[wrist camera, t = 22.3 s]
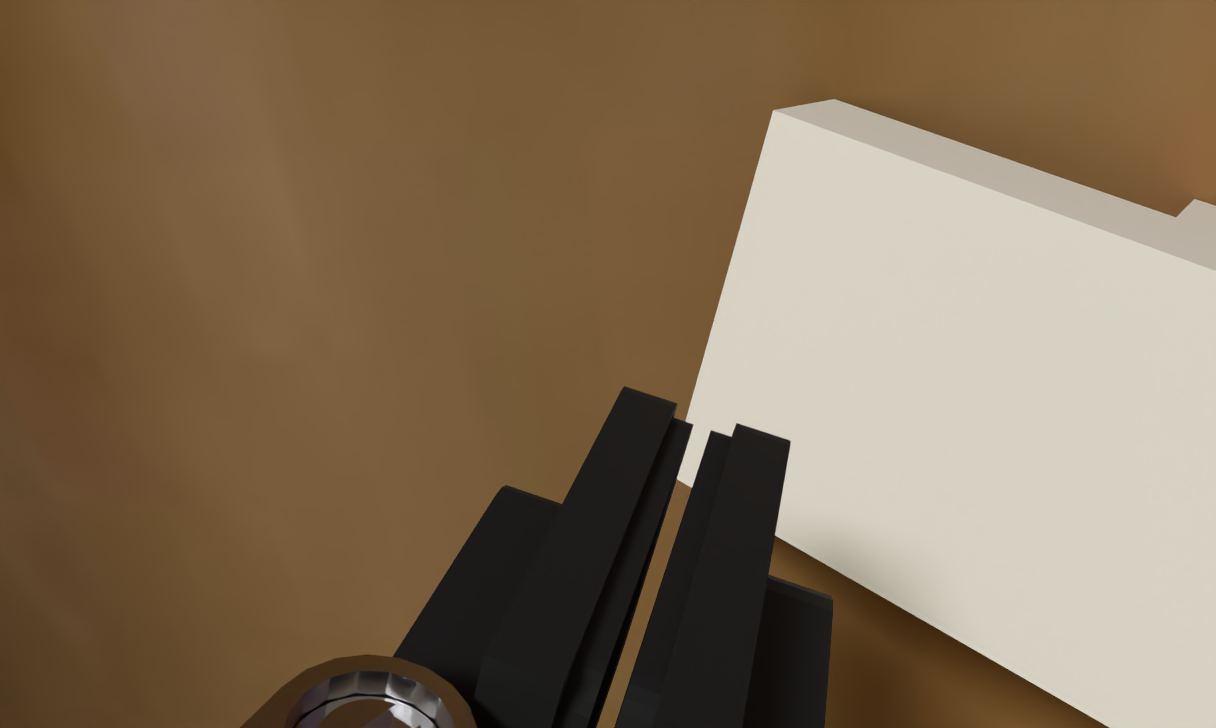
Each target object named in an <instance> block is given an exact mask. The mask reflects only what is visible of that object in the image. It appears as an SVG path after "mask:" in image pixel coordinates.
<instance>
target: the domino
mask: <svg viewBox="0 0 1216 728" xmlns="http://www.w3.org/2000/svg"><path fill="white" fill-rule="evenodd" d="M685 422H688V423H691V424H694V425H693V428H692V432H691V435H690V438H689V441H688V445H687V448H686V451H685V454H684V457H683V461H682V464H681V467H680V470H679V473H678V476H677V479H678V480H679V481H681V482H683V483H685V484H686V485H688V486H690V487H693V484H694V481H695V477H696V474H697V471H698V468H699V465H700V462H701V459H702V456H703V453H704V450H705V447H706V444H707V440H708V437H709V434H710V431H711V430H712V431H715V432H718V433H722V434H725V435H728V436H731V437H732V434H733V431H734V428H735V426H736V423H738V424H741V425H744V426H748V427H751V428H754V429H757V430H760V431H763V432H766V433H769V434H772V435H775V436H778V437H781V438H784V439H787V440H790V441H791V444H790V451H789V456H788V462H787V468H786V474H785V480H784V485H783V491H782V497H781V503H780V509H779V515H778V520H777V526H776V532H775V536H777V537H779V538H780V539H782V540H784V541H786V542H787V543H789V544H791V545H793V546H794V547H796V548H798V549H800V550H801V551H803V552H805V553H807V554H808V555H810V556H812V557H813V558H815V559H817V560H819V561H820V562H822V563H824V564H826V565H827V566H829V567H831V568H833V569H834V570H836V571H838V572H840V573H841V574H843V575H845V576H847V577H848V578H850V579H852V580H854V581H855V582H857V583H859V584H860V585H862V586H864V587H866V588H867V589H869V590H871V591H873V592H874V593H876V594H878V595H880V596H881V597H883V598H885V599H887V600H888V601H890V602H892V603H894V604H895V605H897V606H899V607H901V608H902V609H904V610H906V611H907V612H909V613H911V614H913V615H914V616H916V617H918V618H920V619H921V620H923V621H925V622H927V623H928V624H930V625H932V626H934V627H935V628H937V629H939V630H941V631H942V632H944V633H946V634H948V635H949V636H951V637H953V638H954V639H956V640H958V641H960V642H961V643H963V644H965V645H967V646H968V647H970V648H972V649H974V650H975V651H977V652H979V653H981V654H982V655H984V656H986V657H988V658H989V659H991V660H993V661H995V662H996V663H998V664H1000V665H1001V666H1003V667H1005V668H1007V669H1008V670H1010V671H1012V672H1014V673H1015V674H1017V675H1019V676H1021V677H1022V678H1024V679H1026V680H1028V681H1029V682H1031V683H1033V684H1035V685H1036V686H1038V687H1040V688H1042V689H1043V690H1045V691H1047V692H1048V693H1050V694H1052V695H1054V696H1055V697H1057V698H1059V699H1061V700H1062V701H1064V702H1066V703H1068V704H1069V705H1071V706H1073V707H1075V708H1076V709H1078V710H1080V711H1082V712H1083V713H1085V714H1087V715H1089V716H1090V717H1092V718H1094V719H1095V720H1097V721H1099V722H1101V723H1102V724H1104V725H1106V726H1108V727H1109V728H1216V231H1213V230H1210V229H1207V228H1204V227H1202V226H1199V225H1196V224H1193V223H1190V222H1187V221H1184V220H1181V219H1179V218H1176V217H1173V216H1170V215H1167V214H1164V213H1161V212H1158V211H1155V210H1153V209H1150V208H1147V207H1144V206H1141V205H1138V204H1135V203H1132V202H1130V201H1127V200H1124V199H1121V198H1118V197H1115V196H1112V195H1109V194H1107V193H1104V192H1101V191H1098V190H1095V189H1092V188H1089V187H1086V186H1083V185H1081V184H1078V183H1075V182H1072V181H1069V180H1066V179H1063V178H1060V177H1058V176H1055V175H1052V174H1049V173H1046V172H1043V171H1040V170H1037V169H1034V168H1032V167H1029V166H1026V165H1023V164H1020V163H1017V162H1014V161H1011V160H1009V159H1006V158H1003V157H1000V156H997V155H994V154H991V153H988V152H985V151H983V150H980V149H977V148H974V147H971V146H968V145H965V144H962V143H960V142H957V141H954V140H951V139H948V138H945V137H942V136H939V135H936V134H934V133H931V132H928V131H925V130H922V129H919V128H916V127H913V126H911V125H908V124H905V123H902V122H899V121H896V120H893V119H890V118H888V117H885V116H882V115H879V114H876V113H873V112H870V111H867V110H864V109H862V108H859V107H856V106H853V105H850V104H847V103H844V102H841V101H839V100H836V99H833V100H827V101H822V102H816V103H811V104H805V105H800V106H794V107H789V108H783V109H778V110H773V113H772V117H771V120H770V124H769V127H768V131H767V134H766V138H765V142H764V145H763V149H762V152H761V156H760V159H759V163H758V166H757V170H756V173H755V177H754V181H753V184H752V188H751V191H750V195H749V198H748V202H747V205H746V209H745V212H744V216H743V220H742V223H741V227H740V230H739V234H738V237H737V241H736V244H735V248H734V251H733V255H732V259H731V262H730V266H729V269H728V273H727V276H726V280H725V283H724V287H723V290H722V294H721V297H720V301H719V305H718V308H717V312H716V315H715V319H714V322H713V326H712V329H711V333H710V336H709V340H708V344H707V347H706V351H705V354H704V358H703V361H702V365H701V368H700V372H699V375H698V379H697V383H696V386H695V390H694V393H693V397H692V400H691V404H690V407H689V411H688V414H687V418H686V421H685Z"/></svg>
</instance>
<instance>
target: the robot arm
mask: <svg viewBox="0 0 1216 728" xmlns="http://www.w3.org/2000/svg"><path fill="white" fill-rule="evenodd" d="M676 407H677V403H674V402H671V401H668V400H665V399H662V398H659V397H655V396H652V395H649V394H646V393H643V392H640V391H637V390H634V389H631V388H628V387H623V389H622V390H621V392H620V394H619V396H618V398H617V400H616V402H615V404H614V406H613V408H612V410H611V412H610V413H609V415H608V417H607V419H606V421H605V423H604V425H603V427H602V429H601V431H600V433H599V435H598V436H597V438H596V440H595V442H594V444H593V446H592V448H591V450H590V452H589V454H588V456H587V458H586V459H585V461H584V463H583V465H582V467H581V469H580V471H579V473H578V475H577V477H576V479H575V481H574V482H573V484H572V486H571V488H570V490H569V492H568V494H567V496H566V498H565V500H564V502H563V504H560V503H557V502H554V501H551V500H548V499H545V498H542V497H539V496H536V495H533V494H531V493H528V492H525V491H522V490H519V489H516V488H513V487H510V486H507V485H506V486H504V487H502V488H501V489H500V490H499V492H498V493H497V494H496V496H495V497H494V499H493V500H492V502H491V503H490V505H489V507H488V508H487V510H486V511H485V513H484V514H483V516H482V518H481V519H480V521H479V522H478V524H477V525H476V527H475V529H474V530H473V532H472V533H471V535H470V536H469V538H468V540H467V541H466V543H465V544H464V546H463V547H462V549H461V550H460V552H459V554H458V555H457V557H456V558H455V560H454V561H453V563H452V565H451V566H450V568H449V569H448V571H447V572H446V574H445V576H444V577H443V579H442V580H441V582H440V583H439V585H438V587H437V588H436V590H435V591H434V593H433V594H432V596H431V598H430V599H429V601H428V602H427V604H426V605H425V607H424V609H423V610H422V612H421V613H420V615H419V616H418V618H417V620H416V621H415V623H414V624H413V626H412V627H411V629H410V631H409V632H408V634H407V635H406V637H405V638H404V640H403V641H402V643H401V645H400V646H399V648H398V649H397V651H396V652H395V654H394V656H393V657H386V656H377V655H359V656H351V657H342V658H335V659H333V660H330V661H327V662H325V663H322V664H319V665H317V666H314V667H311V668H308V669H306V670H305V671H303V672H302V673H301V674H299V675H298V676H296V677H295V678H294V679H292V680H291V681H290V682H288V683H287V684H285V685H284V686H283V687H281V688H280V689H279V690H278V691H277V692H276V693H275V694H274V695H273V696H272V697H271V698H270V699H269V700H268V701H267V702H266V703H265V704H264V705H263V706H262V707H261V708H260V709H259V710H258V711H257V712H256V713H255V714H254V715H253V716H252V717H251V718H250V719H248V720H247V721H246V722H245V723H244V724H243V725H242V726H241V727H240V728H596V727H597V724H598V721H599V718H600V715H601V712H602V709H603V706H604V703H605V700H606V698H607V695H608V692H609V689H610V686H611V683H612V680H613V677H614V674H615V671H616V669H617V666H618V663H619V660H620V657H621V654H622V651H623V648H624V645H625V641H626V638H627V635H628V632H629V629H630V626H631V623H632V619H633V616H634V613H635V610H636V607H637V604H638V600H639V597H640V594H641V591H642V588H643V584H644V581H645V578H646V575H647V572H648V569H649V565H650V562H651V559H652V556H653V553H654V550H655V546H656V543H657V540H658V537H659V534H660V530H661V527H662V524H663V521H664V518H665V515H666V511H667V508H668V505H669V502H670V499H671V495H672V492H673V489H674V486H675V483H676V480H677V476H678V473H679V470H680V467H681V464H682V461H683V457H684V454H685V451H686V448H687V445H688V441H689V438H690V435H691V432H692V428H693V425H694V424H691V423H688V422H685V421H682V420H679V419H676V418H674V415H675V411H676ZM790 444H791V441H790V440H787V439H784V438H781V437H778V436H775V435H772V434H769V433H766V432H763V431H760V430H757V429H754V428H751V427H748V426H744V425H741V424H738V423H736V426H735V428H734V431H733V434H732V437H731V436H728V435H725V434H722V433H718V432H715V431H712V430H711V431H710V434H709V437H708V440H707V444H706V447H705V450H704V453H703V456H702V459H701V462H700V465H699V468H698V471H697V474H696V477H695V481H694V484H693V487H692V490H691V493H690V496H689V499H688V502H687V505H686V508H685V511H684V514H683V517H682V521H681V524H680V527H679V530H678V533H677V536H676V539H675V542H674V545H673V548H672V551H671V554H670V558H669V561H668V564H667V567H666V570H665V573H664V576H663V579H662V582H661V585H660V588H659V591H658V595H657V598H656V601H655V604H654V607H653V610H652V613H651V616H650V619H649V622H648V625H647V628H646V631H645V635H644V638H643V641H642V644H641V647H640V650H639V653H638V656H637V659H636V662H635V665H634V669H633V672H632V675H631V678H630V681H629V684H628V687H627V690H626V693H625V696H624V700H623V703H622V706H621V709H620V712H619V715H618V718H617V721H616V724H615V727H614V728H824V725H825V711H826V698H827V685H828V671H829V658H830V644H831V631H832V618H833V600H832V598H831V596H829V595H826V594H823V593H820V592H817V591H815V590H812V589H809V588H806V587H803V586H800V585H797V584H794V583H791V582H788V581H785V580H782V579H779V578H776V577H774V576H771V575H768V573H769V567H770V561H771V555H772V549H773V544H774V538H775V532H776V526H777V520H778V515H779V509H780V503H781V497H782V491H783V485H784V480H785V474H786V468H787V462H788V456H789V451H790Z"/></svg>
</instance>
